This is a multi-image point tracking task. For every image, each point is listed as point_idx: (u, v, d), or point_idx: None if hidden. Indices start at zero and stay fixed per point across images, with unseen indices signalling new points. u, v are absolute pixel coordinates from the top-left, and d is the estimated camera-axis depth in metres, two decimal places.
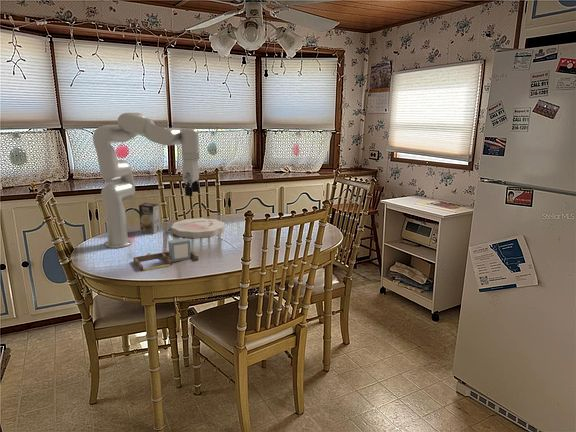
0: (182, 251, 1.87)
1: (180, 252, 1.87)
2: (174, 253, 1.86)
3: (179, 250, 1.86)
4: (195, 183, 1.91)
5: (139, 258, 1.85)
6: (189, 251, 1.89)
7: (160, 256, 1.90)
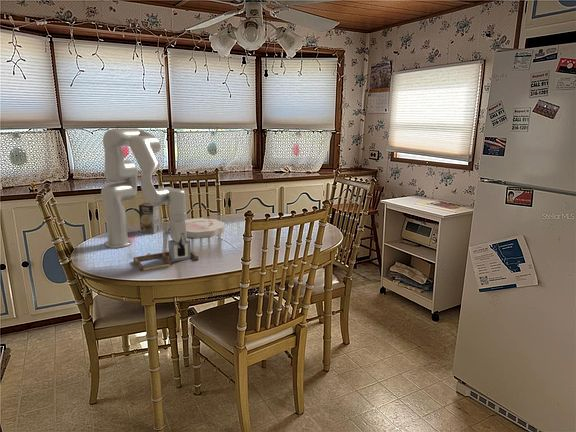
0: None
1: None
2: (174, 253, 1.86)
3: None
4: None
5: (139, 258, 1.85)
6: (189, 251, 1.89)
7: (160, 256, 1.90)
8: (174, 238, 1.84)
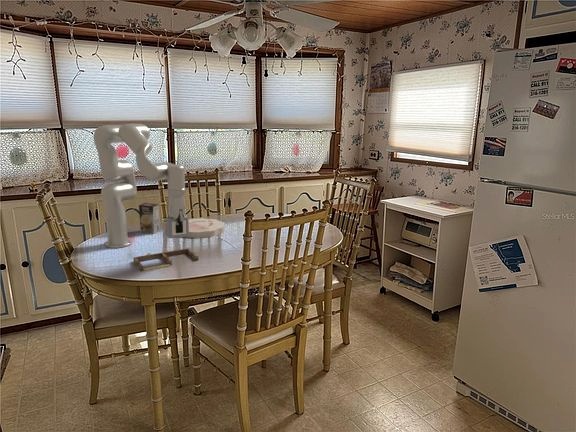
0: None
1: None
2: (172, 230, 1.83)
3: None
4: None
5: (139, 258, 1.85)
6: (187, 228, 1.87)
7: (160, 256, 1.90)
8: (172, 214, 1.81)
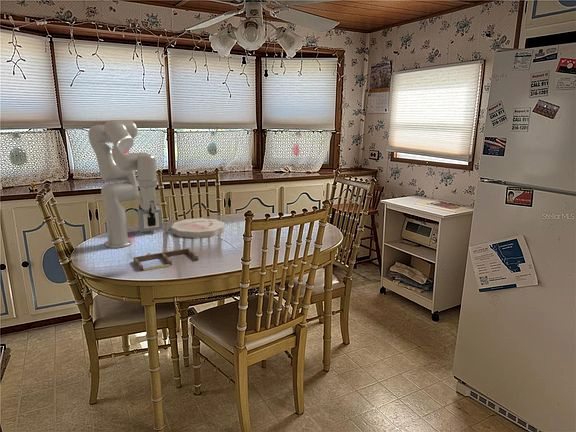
0: None
1: None
2: (144, 223, 1.75)
3: None
4: None
5: (139, 258, 1.85)
6: (160, 221, 1.79)
7: (160, 256, 1.90)
8: (143, 206, 1.73)
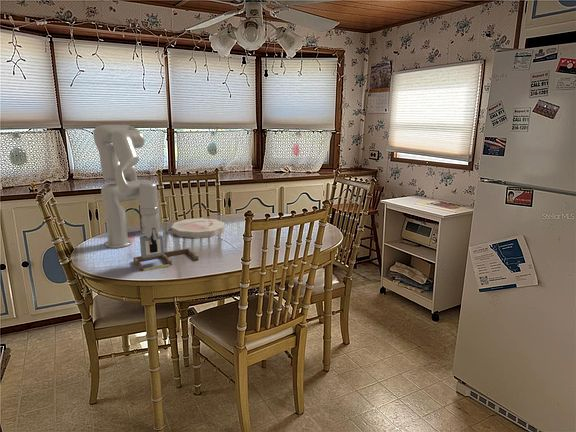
0: None
1: None
2: (146, 249, 1.78)
3: None
4: None
5: (139, 258, 1.85)
6: (162, 247, 1.81)
7: (160, 256, 1.90)
8: (145, 233, 1.76)
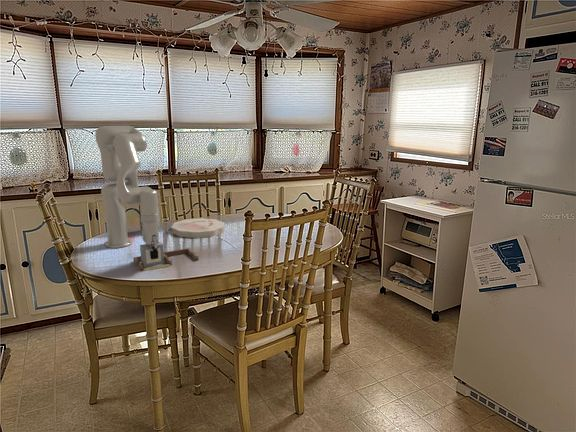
0: None
1: None
2: (146, 258, 1.79)
3: None
4: None
5: (139, 258, 1.85)
6: (162, 255, 1.83)
7: None
8: (146, 240, 1.77)
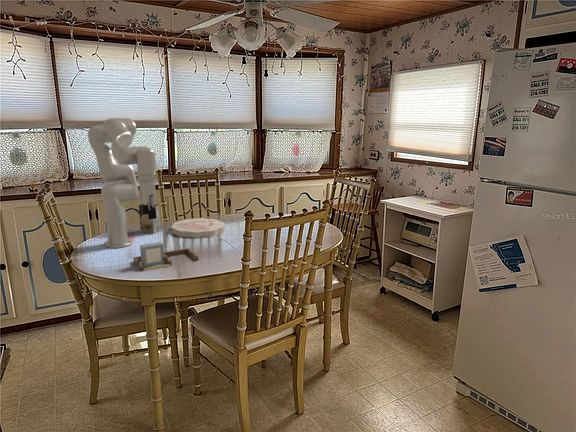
0: (154, 255, 1.81)
1: (152, 256, 1.80)
2: (146, 258, 1.79)
3: (151, 255, 1.80)
4: (146, 205, 1.80)
5: (139, 258, 1.85)
6: (162, 255, 1.83)
7: None
8: (143, 200, 1.73)
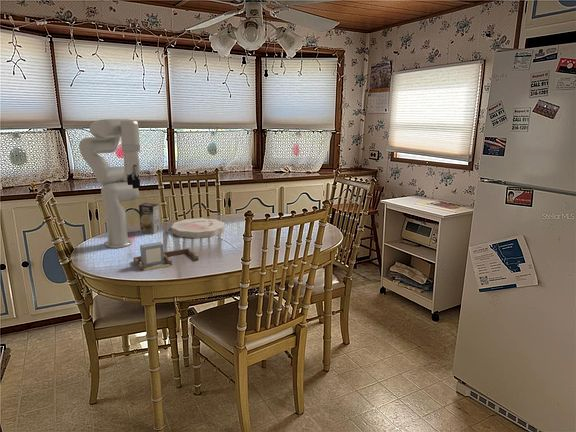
0: (154, 255, 1.81)
1: (152, 256, 1.80)
2: (146, 258, 1.79)
3: (151, 255, 1.80)
4: (131, 176, 1.87)
5: (139, 258, 1.85)
6: (162, 255, 1.83)
7: None
8: (127, 170, 1.80)
